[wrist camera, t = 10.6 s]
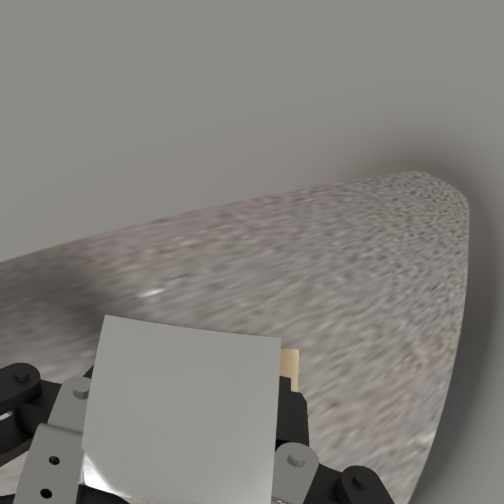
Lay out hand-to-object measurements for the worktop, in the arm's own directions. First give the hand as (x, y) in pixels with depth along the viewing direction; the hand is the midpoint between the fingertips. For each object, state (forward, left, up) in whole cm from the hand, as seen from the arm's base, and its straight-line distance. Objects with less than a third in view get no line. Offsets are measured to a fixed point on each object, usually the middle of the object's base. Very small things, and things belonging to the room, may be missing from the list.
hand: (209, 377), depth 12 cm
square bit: (0, -2, -5) cm, 6 cm away
